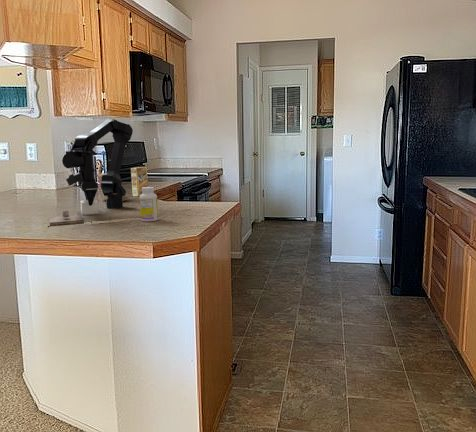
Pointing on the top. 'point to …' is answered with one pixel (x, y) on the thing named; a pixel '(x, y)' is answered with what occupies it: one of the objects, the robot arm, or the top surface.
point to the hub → (66, 219)
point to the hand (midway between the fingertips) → (89, 204)
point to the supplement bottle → (148, 205)
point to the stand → (90, 214)
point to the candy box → (139, 180)
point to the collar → (89, 207)
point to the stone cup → (116, 193)
